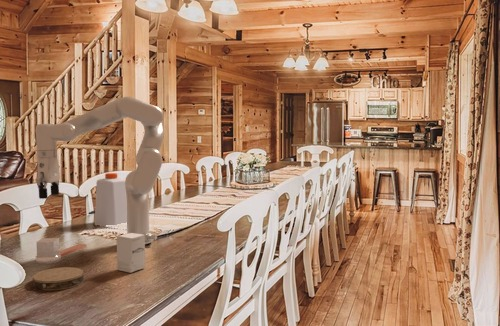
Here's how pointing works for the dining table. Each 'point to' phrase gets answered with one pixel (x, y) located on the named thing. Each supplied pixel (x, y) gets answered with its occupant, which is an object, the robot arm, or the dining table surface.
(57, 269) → the tambourine
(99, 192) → the plastic bottle
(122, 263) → the supplement box
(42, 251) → the white cube
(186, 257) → the dining table surface
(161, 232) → the dining table surface
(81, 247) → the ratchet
